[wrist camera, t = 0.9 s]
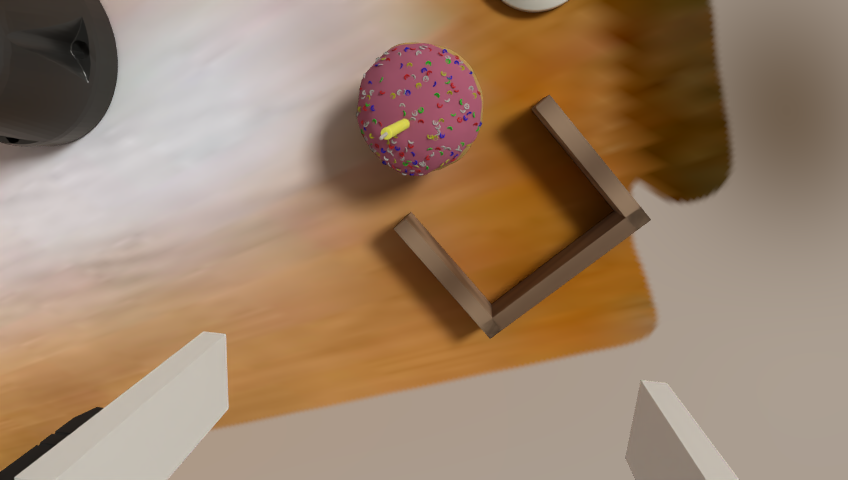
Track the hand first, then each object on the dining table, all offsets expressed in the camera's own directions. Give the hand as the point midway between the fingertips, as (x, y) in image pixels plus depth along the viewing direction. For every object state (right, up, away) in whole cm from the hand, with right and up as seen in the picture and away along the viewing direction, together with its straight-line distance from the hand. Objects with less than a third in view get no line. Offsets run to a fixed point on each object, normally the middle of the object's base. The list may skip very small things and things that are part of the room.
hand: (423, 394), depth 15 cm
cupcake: (0, +15, +21) cm, 26 cm away
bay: (+7, +7, +22) cm, 24 cm away
